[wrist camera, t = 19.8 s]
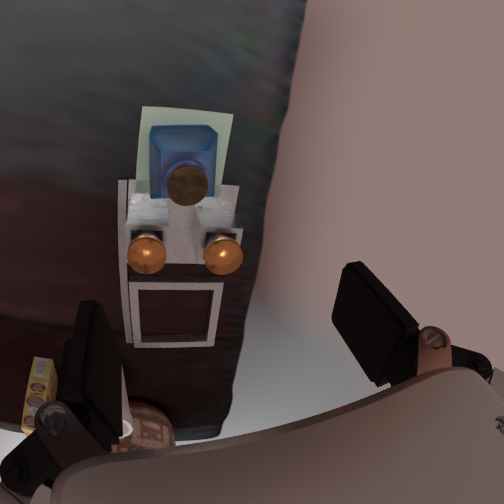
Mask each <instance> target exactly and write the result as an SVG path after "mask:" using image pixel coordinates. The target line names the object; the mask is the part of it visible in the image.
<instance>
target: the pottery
mask: <svg viewBox="0 0 504 504" xmlns="http://www.w3.org/2000/svg"><path fill="white" fill-rule="evenodd" d="M128 403H129V409H130V413H131V415H132V420H133V431H132V432H131V434H130V435H128V436H126V437H124V438H119V445H111V448H112V451H111V452H110V454H111V453H117V452H127V451H135V450H146V449H156V448H165V447H172V446H176V444H175V437H174V431H173V427H172V425H171V423H170V421H169V420H168V418H167V417H166V416H165V414H164V413H163V412H162V411H161V410H159V409H158V408H156V407H154V406H153V405H151V404H149V403H146V402H143V401H140V400H130V399H129V400H128Z"/></svg>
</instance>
